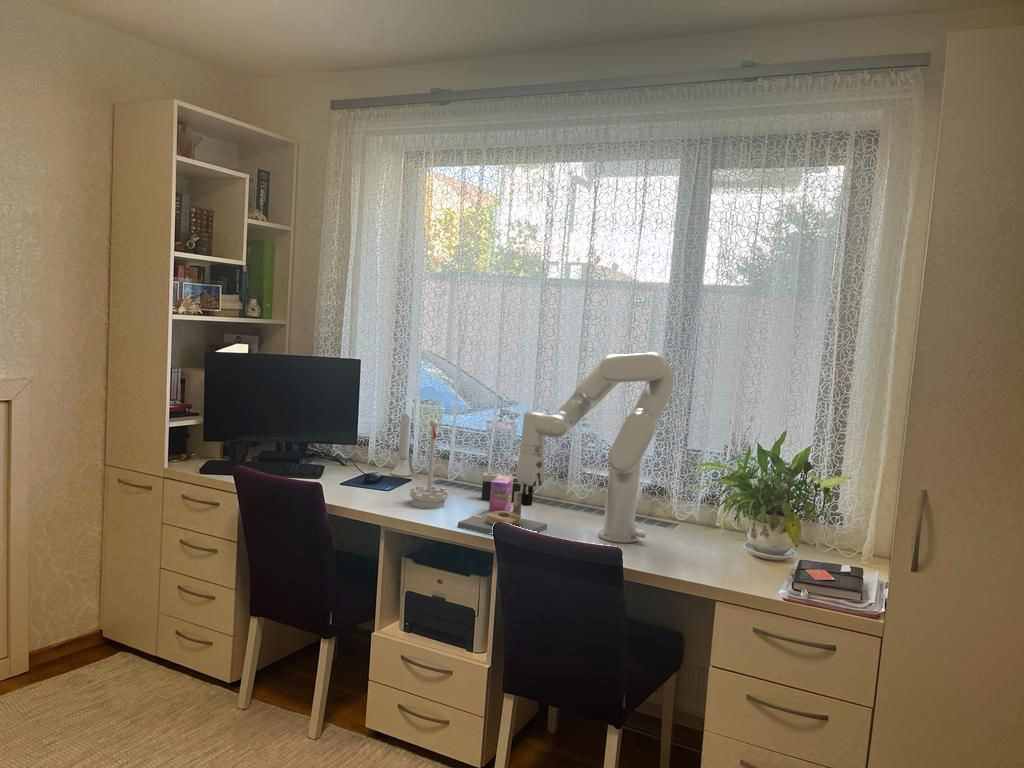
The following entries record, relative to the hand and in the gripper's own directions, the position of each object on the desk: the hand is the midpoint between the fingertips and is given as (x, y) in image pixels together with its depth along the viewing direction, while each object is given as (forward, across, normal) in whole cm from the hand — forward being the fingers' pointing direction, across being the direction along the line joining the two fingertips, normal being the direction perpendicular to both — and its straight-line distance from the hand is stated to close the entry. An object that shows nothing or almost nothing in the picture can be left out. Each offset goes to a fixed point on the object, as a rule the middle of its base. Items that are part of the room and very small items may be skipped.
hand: (526, 505), depth 260 cm
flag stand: (+8, +33, +18) cm, 39 cm away
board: (+7, 0, +8) cm, 10 cm away
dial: (+5, +1, +6) cm, 8 cm away
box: (+7, +16, 0) cm, 18 cm away
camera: (+7, +31, -10) cm, 33 cm away
